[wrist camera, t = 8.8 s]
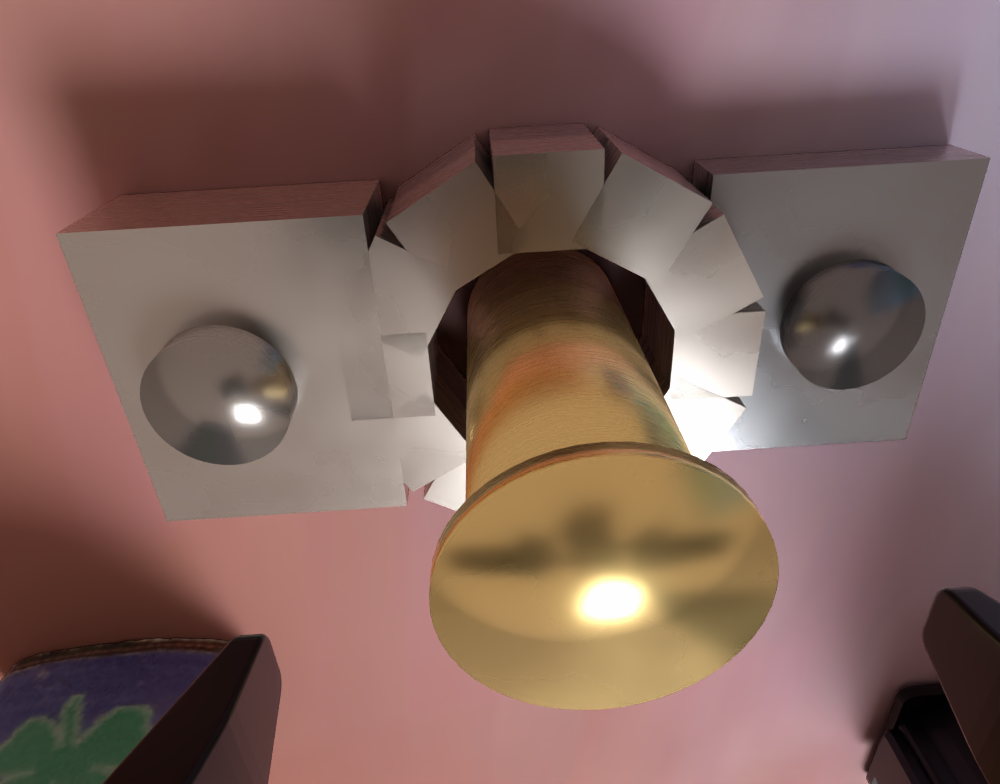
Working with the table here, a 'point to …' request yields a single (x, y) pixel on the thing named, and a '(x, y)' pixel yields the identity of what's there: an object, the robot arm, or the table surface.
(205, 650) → the flask
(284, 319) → the flanged post bracket
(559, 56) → the table surface
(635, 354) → the brass pin
